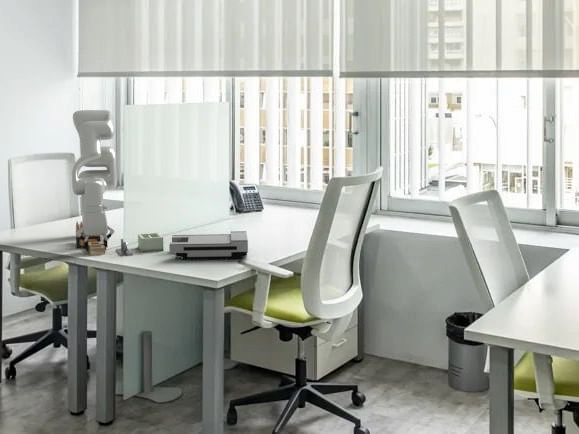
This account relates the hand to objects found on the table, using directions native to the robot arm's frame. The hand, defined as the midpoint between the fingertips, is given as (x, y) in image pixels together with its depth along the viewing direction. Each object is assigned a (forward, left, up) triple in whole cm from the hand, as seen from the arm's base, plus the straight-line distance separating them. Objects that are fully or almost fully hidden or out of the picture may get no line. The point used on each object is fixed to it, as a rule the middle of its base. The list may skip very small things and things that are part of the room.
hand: (96, 249), depth 324 cm
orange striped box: (-18, 0, -1) cm, 18 cm away
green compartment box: (+3, +23, -1) cm, 23 cm away
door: (0, 0, -1) cm, 1 cm away
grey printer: (+23, +44, -2) cm, 50 cm away
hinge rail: (+6, +11, -1) cm, 13 cm away
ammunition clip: (-10, -2, -1) cm, 10 cm away
